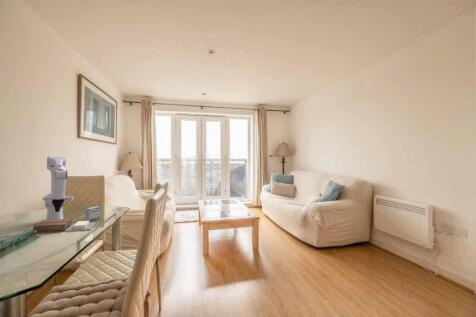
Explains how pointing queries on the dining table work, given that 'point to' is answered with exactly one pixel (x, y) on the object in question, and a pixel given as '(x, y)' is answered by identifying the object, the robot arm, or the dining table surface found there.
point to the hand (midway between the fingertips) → (57, 211)
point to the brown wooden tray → (53, 225)
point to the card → (81, 224)
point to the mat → (82, 228)
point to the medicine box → (92, 213)
